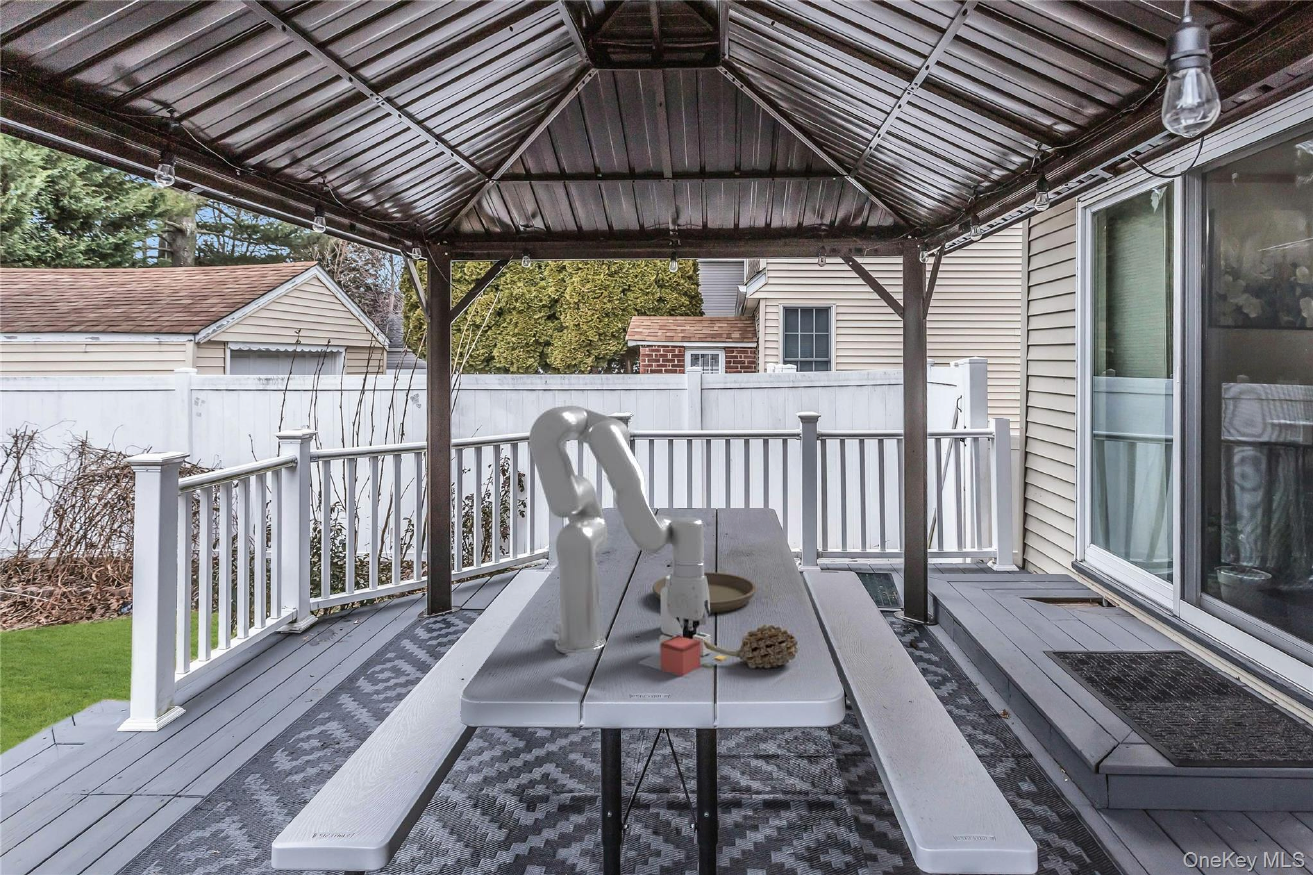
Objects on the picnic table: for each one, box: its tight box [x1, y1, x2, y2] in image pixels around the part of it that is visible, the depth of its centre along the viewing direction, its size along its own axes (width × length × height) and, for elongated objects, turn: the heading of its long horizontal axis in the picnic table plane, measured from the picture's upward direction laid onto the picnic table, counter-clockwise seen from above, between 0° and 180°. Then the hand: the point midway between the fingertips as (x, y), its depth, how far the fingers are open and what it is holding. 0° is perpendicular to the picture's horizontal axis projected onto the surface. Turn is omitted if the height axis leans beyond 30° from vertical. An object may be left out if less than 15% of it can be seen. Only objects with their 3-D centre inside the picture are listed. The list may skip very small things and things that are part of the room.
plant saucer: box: [652, 571, 757, 614], centre depth 228 cm, size 31×31×5 cm
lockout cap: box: [659, 635, 701, 677], centre depth 172 cm, size 6×6×6 cm
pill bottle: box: [660, 574, 683, 636], centre depth 198 cm, size 8×8×15 cm
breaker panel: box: [637, 633, 732, 679], centre depth 178 cm, size 15×18×6 cm
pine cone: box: [702, 624, 799, 669], centre depth 174 cm, size 22×10×10 cm, turn 85°
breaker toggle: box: [693, 632, 712, 656], centre depth 181 cm, size 3×3×4 cm
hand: (689, 644), depth 183 cm, fingers closed
